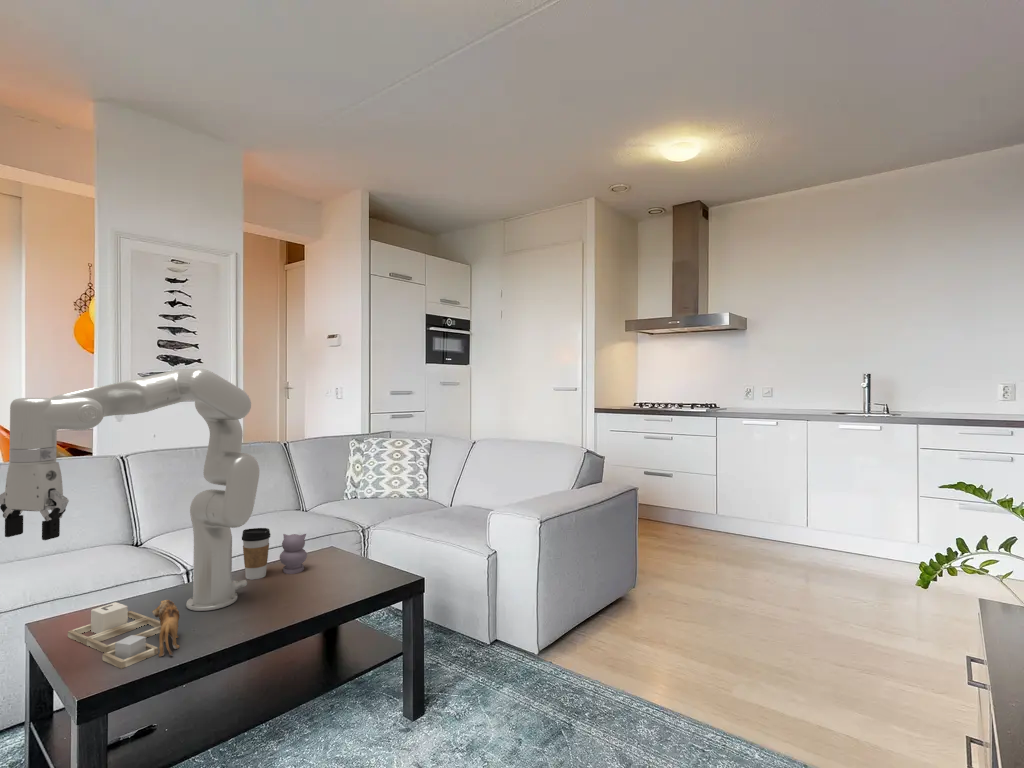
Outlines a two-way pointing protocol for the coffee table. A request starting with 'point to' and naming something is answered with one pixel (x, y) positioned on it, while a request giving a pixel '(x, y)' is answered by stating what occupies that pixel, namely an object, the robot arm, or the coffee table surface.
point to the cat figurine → (293, 553)
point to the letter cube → (108, 617)
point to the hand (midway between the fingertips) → (32, 536)
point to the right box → (78, 636)
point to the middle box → (96, 641)
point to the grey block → (130, 646)
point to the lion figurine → (167, 624)
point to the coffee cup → (255, 552)
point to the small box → (121, 663)
